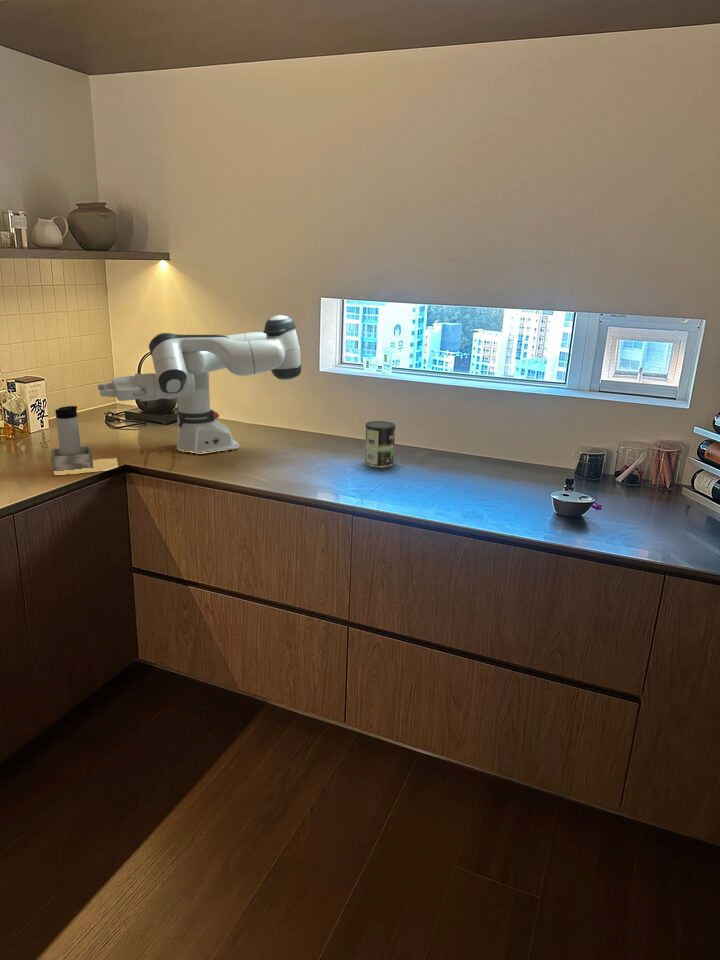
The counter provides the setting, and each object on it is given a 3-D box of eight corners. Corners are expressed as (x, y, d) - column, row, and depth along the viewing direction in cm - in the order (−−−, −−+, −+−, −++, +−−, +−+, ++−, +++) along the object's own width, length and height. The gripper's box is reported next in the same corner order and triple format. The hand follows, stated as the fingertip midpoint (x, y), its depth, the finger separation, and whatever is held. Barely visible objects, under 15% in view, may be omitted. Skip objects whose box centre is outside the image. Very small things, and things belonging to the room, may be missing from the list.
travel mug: (78, 470, 216) (71, 408, 209) (58, 469, 216) (50, 407, 210) (87, 464, 221) (80, 404, 215) (67, 463, 222) (60, 403, 215)
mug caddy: (117, 460, 230) (115, 443, 228) (120, 470, 220) (118, 452, 218) (53, 465, 222) (51, 448, 220) (53, 476, 212) (51, 458, 210)
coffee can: (395, 460, 239) (397, 422, 235) (391, 469, 229) (392, 429, 225) (367, 458, 241) (368, 419, 236) (361, 466, 231) (362, 426, 227)
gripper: (149, 403, 212) (102, 407, 207) (141, 390, 230) (98, 393, 225) (147, 383, 210) (100, 387, 205) (139, 372, 228) (95, 375, 223)
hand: (99, 390), depth 215 cm, fingers open, 8 cm apart
